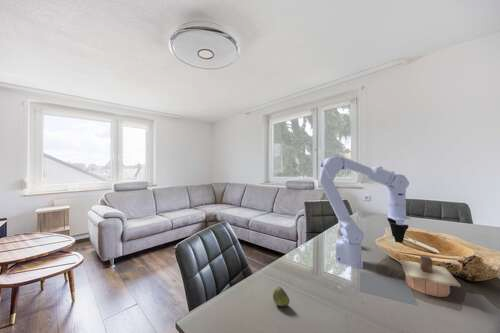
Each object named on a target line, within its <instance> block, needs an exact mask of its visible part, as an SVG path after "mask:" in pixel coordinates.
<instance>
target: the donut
mask: <svg viewBox="0 0 500 333" xmlns="http://www.w3.org/2000/svg"><path fill="white" fill-rule="evenodd" d="M342 236H343V234H342V233H341V232H340V225H339V224H338V226H337V228H336V239H341V238H342Z"/></svg>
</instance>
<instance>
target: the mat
mask: <svg viewBox="0 0 500 333" xmlns="http://www.w3.org/2000/svg"><path fill="white" fill-rule="evenodd" d="M359 292H361V293H365V294H368V295H369V294H370V295H372V296H378V297H382V298H385V299H389V300H393V301H397V302H401V303H406V304H410V305H414V306H418V302H417V299H416V298H415V295H414V293H413V290H412V287H410V286H409V285H408V284H407V282H406V280H403V279H398V278H395V277H394V278H393V277H390V276H389V277H388V276H384V275H379V274H375V273H369V272H365V271H360V270H359Z"/></svg>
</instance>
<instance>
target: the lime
mask: <svg viewBox="0 0 500 333" xmlns="http://www.w3.org/2000/svg"><path fill="white" fill-rule="evenodd" d="M272 300H273V302H274V303H275V304H276V305H278V306H280V307H287V306H288V305H289V304H290V298H289V296H288V294H287V293H286V291H285V290H284V289H283V288H282V286H280V285H277V286H276V287H275V288H274V289H273V292H272Z"/></svg>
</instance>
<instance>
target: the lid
mask: <svg viewBox="0 0 500 333" xmlns="http://www.w3.org/2000/svg"><path fill="white" fill-rule="evenodd" d="M419 258H420V261H419V262H417V261H412V260H411V261H410V260H405V259H400V260H399V263H400V265H401V267H402V269H403V271H404V273H405V277H406V276H407V277H412V278H417V279H422V280H427V281H432V282H437V283H442V284H447V285H450V286H451V287H458V288H462V287H461V284H460V283H459V282H458V280H457V279H456V278H455V277H454V276H453V274H451V272H450V271H449V270H448V269H447V268H446V267H445V266H439V265H434V264H433V259H432V258H431V257H430V256H423V255H420V257H419Z"/></svg>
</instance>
